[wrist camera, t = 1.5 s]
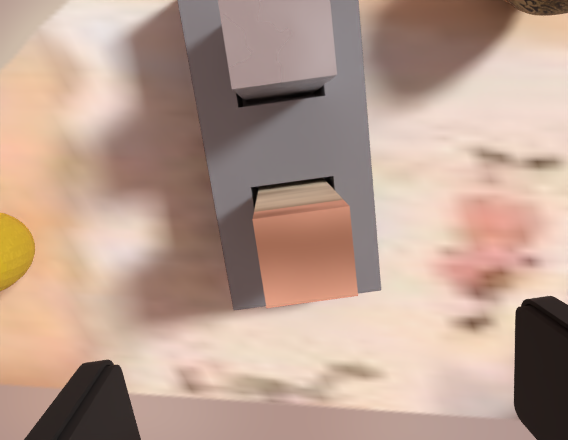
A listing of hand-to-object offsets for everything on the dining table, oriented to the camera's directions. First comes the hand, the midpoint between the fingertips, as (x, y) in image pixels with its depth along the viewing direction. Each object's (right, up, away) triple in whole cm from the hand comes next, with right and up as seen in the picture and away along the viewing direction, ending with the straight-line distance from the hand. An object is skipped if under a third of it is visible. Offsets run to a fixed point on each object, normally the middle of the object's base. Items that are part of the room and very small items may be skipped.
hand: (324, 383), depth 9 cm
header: (-1, +10, +19) cm, 22 cm away
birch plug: (0, +5, +20) cm, 21 cm away
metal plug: (-2, +14, +18) cm, 23 cm away
